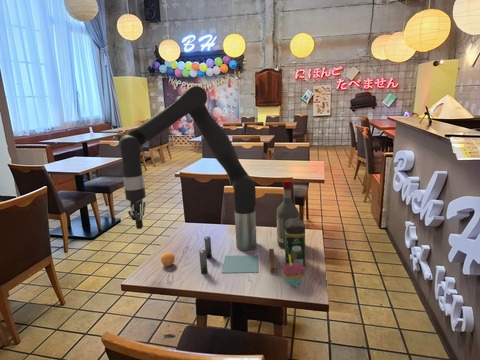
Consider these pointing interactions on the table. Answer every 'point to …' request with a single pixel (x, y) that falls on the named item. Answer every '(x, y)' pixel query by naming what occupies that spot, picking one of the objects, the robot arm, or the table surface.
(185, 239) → the table surface
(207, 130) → the robot arm
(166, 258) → the ball
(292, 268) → the cupcake
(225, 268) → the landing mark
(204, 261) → the post
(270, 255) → the stopper wall
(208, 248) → the post
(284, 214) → the liquor
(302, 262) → the coffee jar
